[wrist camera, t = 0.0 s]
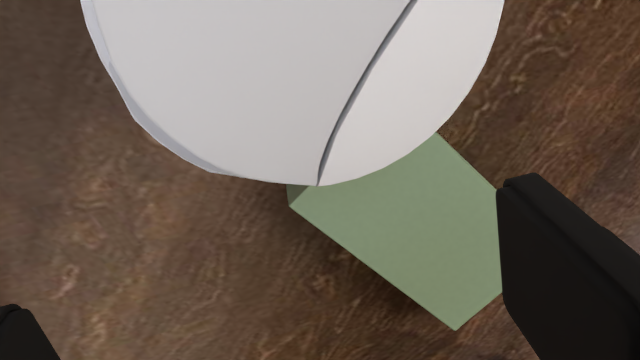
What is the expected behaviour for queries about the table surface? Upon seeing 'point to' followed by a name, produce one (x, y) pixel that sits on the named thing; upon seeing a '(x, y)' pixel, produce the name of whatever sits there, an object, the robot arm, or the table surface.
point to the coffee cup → (292, 78)
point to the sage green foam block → (417, 228)
